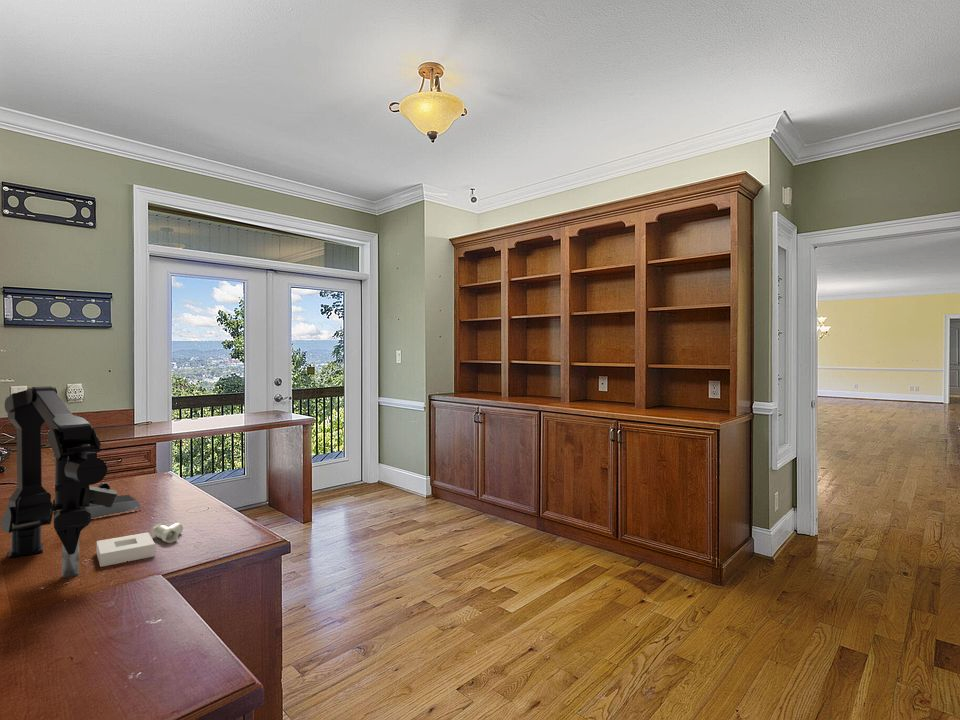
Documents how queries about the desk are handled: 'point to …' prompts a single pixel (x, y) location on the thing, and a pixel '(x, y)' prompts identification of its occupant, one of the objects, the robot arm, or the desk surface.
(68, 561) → the metal peg
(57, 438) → the robot arm
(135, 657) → the desk surface
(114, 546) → the hole block
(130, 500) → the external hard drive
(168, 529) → the pipe fitting
